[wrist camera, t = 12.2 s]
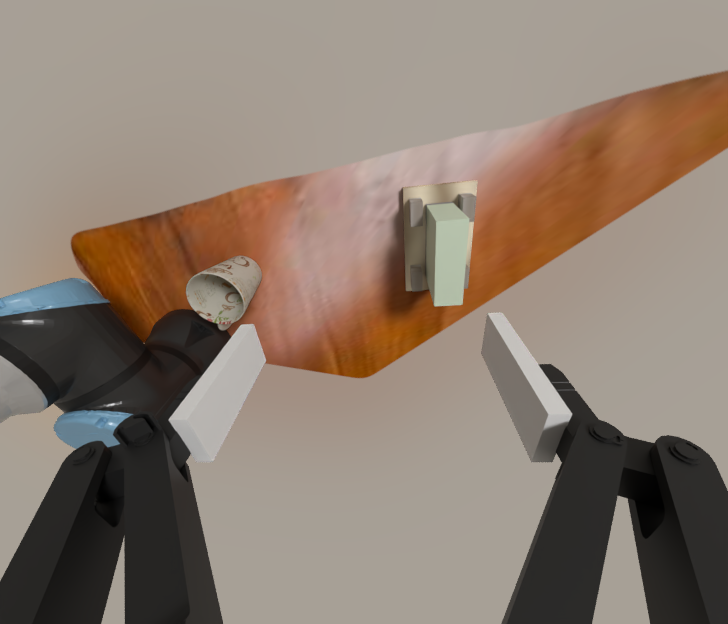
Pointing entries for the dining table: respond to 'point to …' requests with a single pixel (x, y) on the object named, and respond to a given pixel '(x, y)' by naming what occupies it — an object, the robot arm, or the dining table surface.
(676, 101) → the dining table surface
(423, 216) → the hinge bracket
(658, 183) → the dining table surface
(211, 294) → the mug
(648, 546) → the robot arm
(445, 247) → the door panel
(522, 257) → the dining table surface
